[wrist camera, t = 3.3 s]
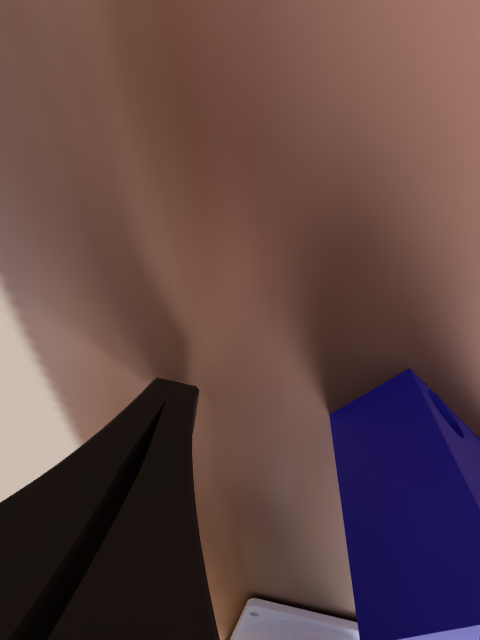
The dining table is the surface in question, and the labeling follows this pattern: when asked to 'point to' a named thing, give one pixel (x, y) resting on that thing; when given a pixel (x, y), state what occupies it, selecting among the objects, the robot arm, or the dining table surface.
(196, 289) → the dining table surface
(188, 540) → the robot arm
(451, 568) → the cable clip
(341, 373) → the dining table surface
